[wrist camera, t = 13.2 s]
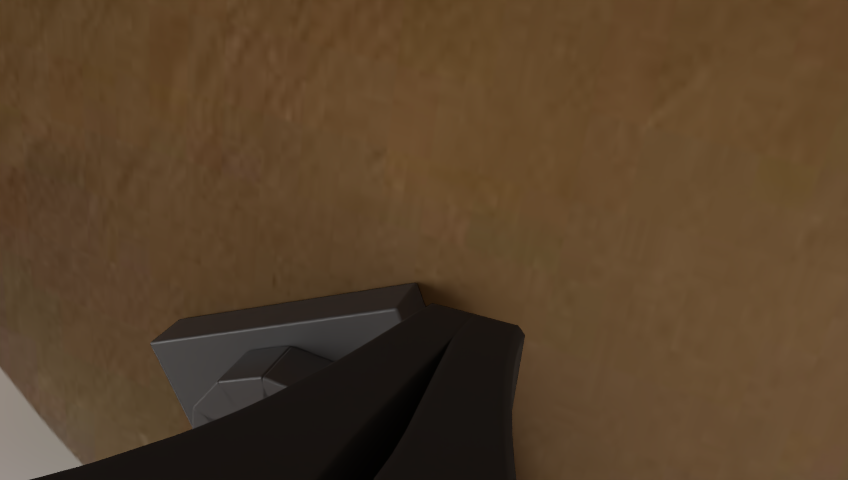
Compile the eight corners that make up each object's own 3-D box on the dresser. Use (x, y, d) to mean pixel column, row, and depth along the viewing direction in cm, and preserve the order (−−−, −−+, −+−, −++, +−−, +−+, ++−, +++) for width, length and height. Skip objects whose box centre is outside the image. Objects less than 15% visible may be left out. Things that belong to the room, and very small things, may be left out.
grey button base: (262, 490, 29) (210, 558, 26) (179, 318, 27) (111, 371, 24) (491, 486, 25) (461, 567, 22) (417, 281, 22) (371, 340, 19)
